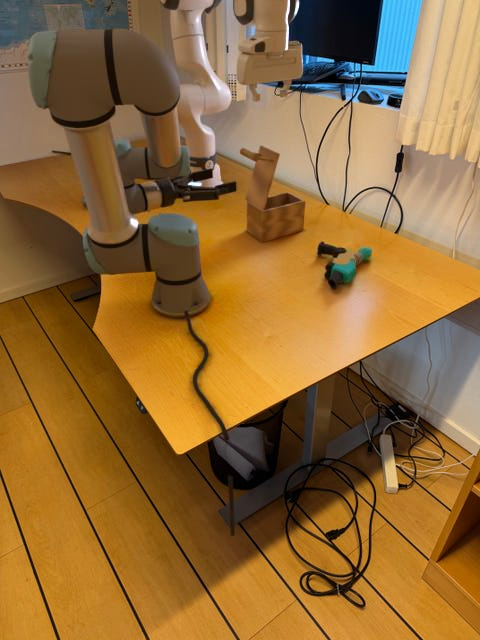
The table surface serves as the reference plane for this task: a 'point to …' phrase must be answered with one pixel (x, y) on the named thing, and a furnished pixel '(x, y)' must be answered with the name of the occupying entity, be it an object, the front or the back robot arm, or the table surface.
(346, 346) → the table surface
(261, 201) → the lid
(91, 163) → the front robot arm
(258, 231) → the chest
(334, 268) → the toy gun
